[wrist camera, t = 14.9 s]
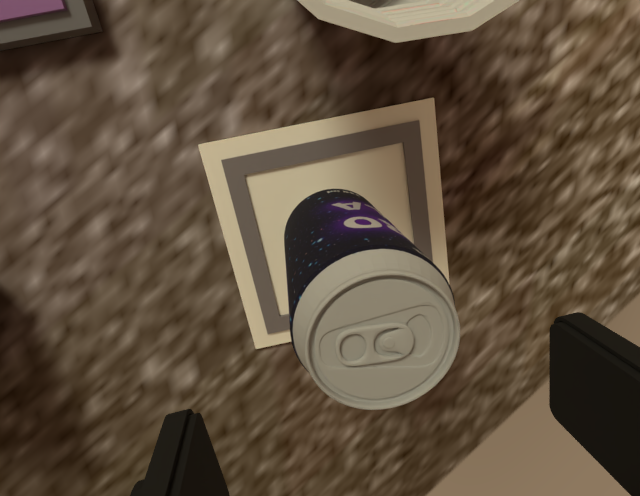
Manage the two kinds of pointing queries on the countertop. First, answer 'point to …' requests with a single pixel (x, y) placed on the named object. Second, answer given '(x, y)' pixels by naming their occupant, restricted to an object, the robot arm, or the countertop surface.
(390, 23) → the plastic cup
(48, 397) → the countertop surface
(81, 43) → the countertop surface
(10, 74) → the countertop surface
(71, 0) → the ink pad
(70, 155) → the countertop surface
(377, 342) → the beverage can
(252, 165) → the print card
